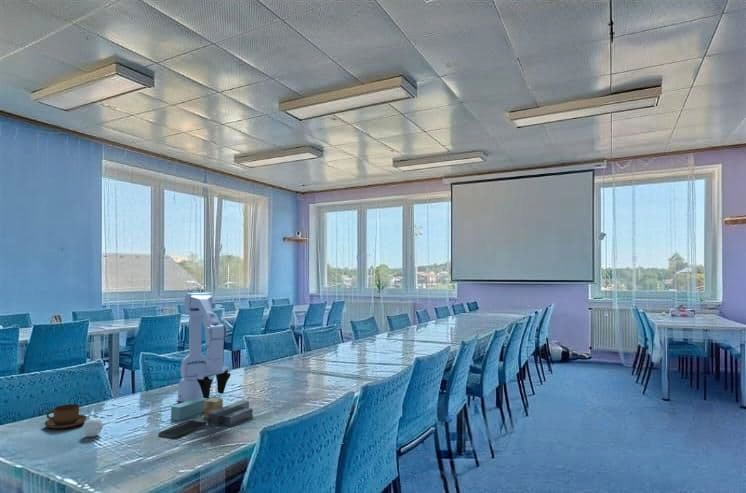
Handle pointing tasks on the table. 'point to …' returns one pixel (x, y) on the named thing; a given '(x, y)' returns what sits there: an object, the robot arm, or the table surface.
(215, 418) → the vise
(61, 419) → the cup and saucer
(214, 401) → the oak block
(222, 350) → the robot arm
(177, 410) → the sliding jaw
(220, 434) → the table surface
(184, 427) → the phone
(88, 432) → the white rounded piece
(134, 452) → the table surface
